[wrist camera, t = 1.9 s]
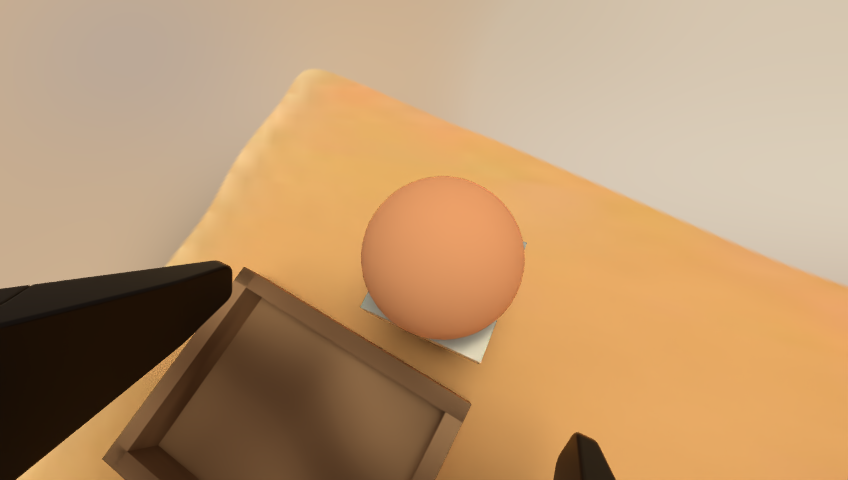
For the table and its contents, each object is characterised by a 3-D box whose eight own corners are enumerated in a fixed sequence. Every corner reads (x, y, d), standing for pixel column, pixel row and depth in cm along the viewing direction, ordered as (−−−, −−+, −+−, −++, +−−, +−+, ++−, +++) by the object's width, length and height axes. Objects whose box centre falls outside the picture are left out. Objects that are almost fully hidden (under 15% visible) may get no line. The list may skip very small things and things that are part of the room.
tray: (357, 634, 15) (340, 674, 13) (141, 450, 18) (102, 458, 16) (469, 402, 18) (471, 404, 16) (265, 278, 21) (244, 266, 19)
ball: (474, 374, 13) (483, 369, 8) (354, 304, 14) (301, 264, 9) (535, 252, 14) (572, 186, 9) (420, 198, 15) (403, 117, 11)
